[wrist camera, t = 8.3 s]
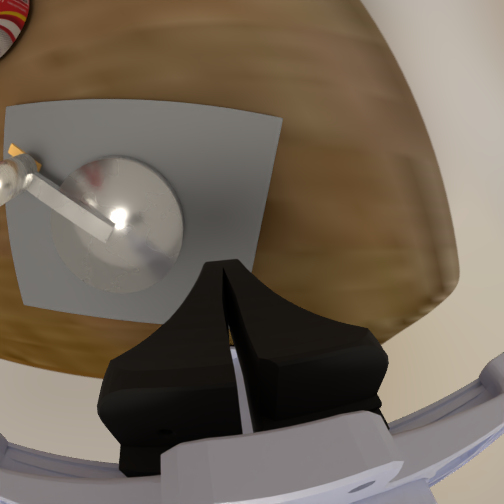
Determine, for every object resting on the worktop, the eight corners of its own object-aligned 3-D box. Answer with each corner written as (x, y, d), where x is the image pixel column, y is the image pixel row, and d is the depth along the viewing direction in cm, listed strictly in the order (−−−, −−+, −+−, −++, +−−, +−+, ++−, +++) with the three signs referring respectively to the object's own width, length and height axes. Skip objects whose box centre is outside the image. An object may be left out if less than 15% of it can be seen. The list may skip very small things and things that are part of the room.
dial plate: (237, 319, 24) (239, 330, 23) (29, 296, 20) (23, 305, 18) (278, 118, 17) (283, 118, 16) (15, 106, 13) (4, 106, 12)
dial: (211, 206, 18) (215, 236, 14) (142, 303, 20) (133, 348, 16) (49, 99, 13) (9, 100, 9) (3, 213, 15) (-33, 240, 11)
